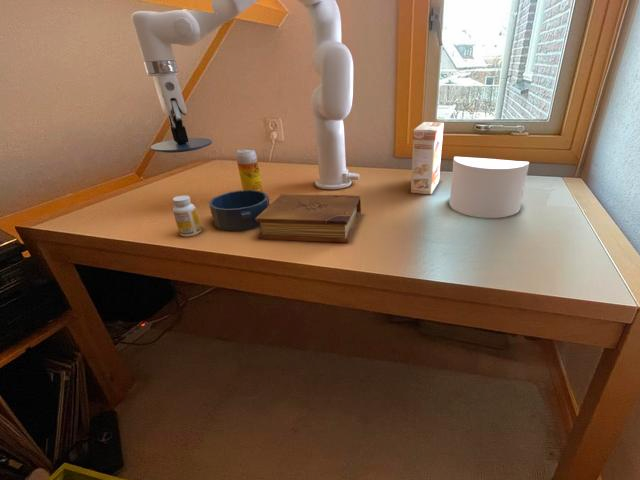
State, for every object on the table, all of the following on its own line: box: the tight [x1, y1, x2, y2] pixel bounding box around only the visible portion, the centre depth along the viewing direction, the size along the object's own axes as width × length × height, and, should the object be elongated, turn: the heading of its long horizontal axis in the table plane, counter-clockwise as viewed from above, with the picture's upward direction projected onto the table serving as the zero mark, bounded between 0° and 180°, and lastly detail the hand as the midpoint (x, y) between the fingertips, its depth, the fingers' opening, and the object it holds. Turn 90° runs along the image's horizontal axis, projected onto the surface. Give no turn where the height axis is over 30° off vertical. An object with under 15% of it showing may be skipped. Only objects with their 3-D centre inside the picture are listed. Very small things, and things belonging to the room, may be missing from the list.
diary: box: [255, 193, 362, 243], centre depth 98 cm, size 23×19×6 cm
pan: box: [208, 189, 271, 232], centre depth 103 cm, size 16×21×6 cm
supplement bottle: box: [172, 194, 202, 238], centre depth 95 cm, size 5×5×10 cm
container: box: [448, 155, 530, 219], centre depth 105 cm, size 20×20×13 cm
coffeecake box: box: [410, 121, 445, 195], centre depth 119 cm, size 15×7×20 cm, turn 160°
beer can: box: [235, 148, 264, 192], centre depth 116 cm, size 6×6×15 cm
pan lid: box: [150, 137, 213, 154], centre depth 105 cm, size 16×16×6 cm
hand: (181, 141), depth 106 cm, fingers closed on pan lid, 2 cm apart
